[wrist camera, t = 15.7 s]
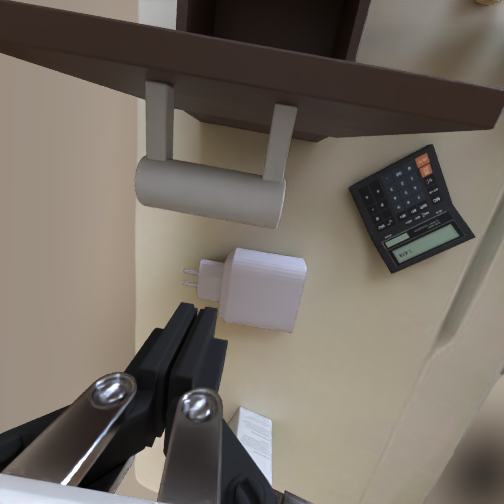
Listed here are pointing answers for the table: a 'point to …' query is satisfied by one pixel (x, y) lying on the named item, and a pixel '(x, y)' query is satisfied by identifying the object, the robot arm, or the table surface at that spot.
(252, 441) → the cosmetic box
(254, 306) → the charger
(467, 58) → the table surface
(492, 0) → the sprinkles bottle
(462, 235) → the calculator
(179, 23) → the dark wooden planter box
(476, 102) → the lid
